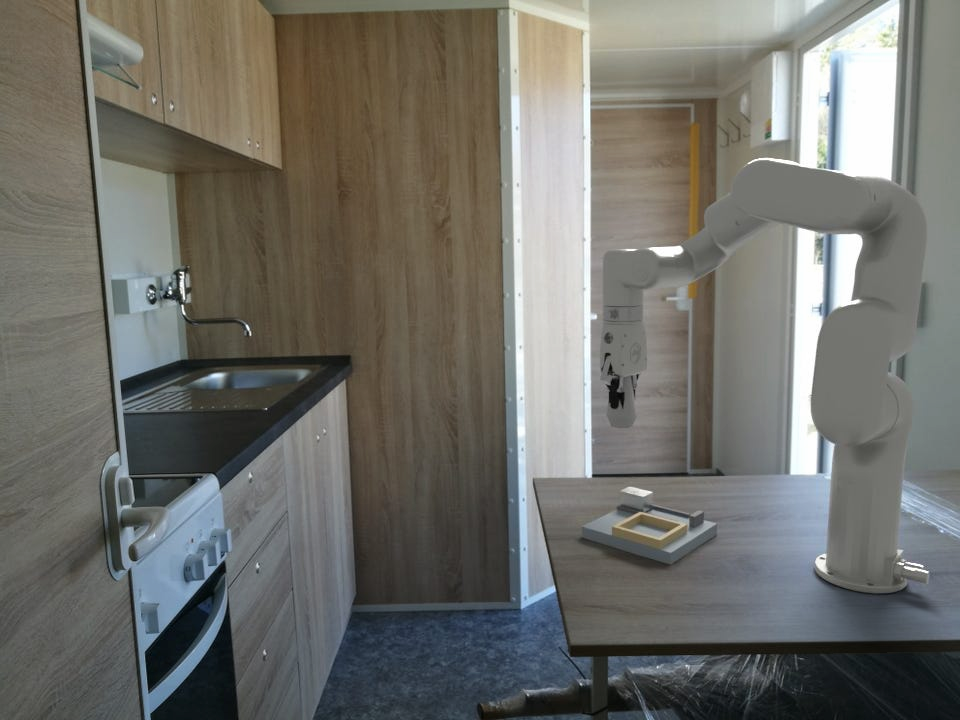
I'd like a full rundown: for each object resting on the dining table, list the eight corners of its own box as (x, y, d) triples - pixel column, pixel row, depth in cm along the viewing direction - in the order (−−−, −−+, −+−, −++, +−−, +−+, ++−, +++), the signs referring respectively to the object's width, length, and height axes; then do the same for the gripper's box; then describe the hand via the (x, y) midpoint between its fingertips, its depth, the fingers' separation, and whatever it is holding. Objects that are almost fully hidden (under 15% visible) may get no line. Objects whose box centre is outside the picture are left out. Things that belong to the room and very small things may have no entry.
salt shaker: (639, 429, 141) (640, 361, 139) (608, 429, 141) (609, 361, 139) (633, 422, 147) (634, 356, 145) (604, 422, 147) (604, 357, 145)
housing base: (716, 534, 130) (717, 512, 129) (670, 564, 118) (671, 540, 118) (631, 511, 142) (632, 491, 141) (581, 537, 130) (582, 515, 129)
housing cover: (652, 507, 137) (653, 492, 137) (643, 512, 135) (643, 496, 134) (629, 501, 140) (629, 486, 140) (619, 506, 138) (619, 490, 137)
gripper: (616, 319, 132) (615, 420, 135) (662, 312, 144) (660, 405, 147) (581, 317, 137) (581, 415, 140) (628, 310, 149) (627, 401, 152)
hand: (621, 409), depth 143 cm, fingers closed on salt shaker, 3 cm apart
